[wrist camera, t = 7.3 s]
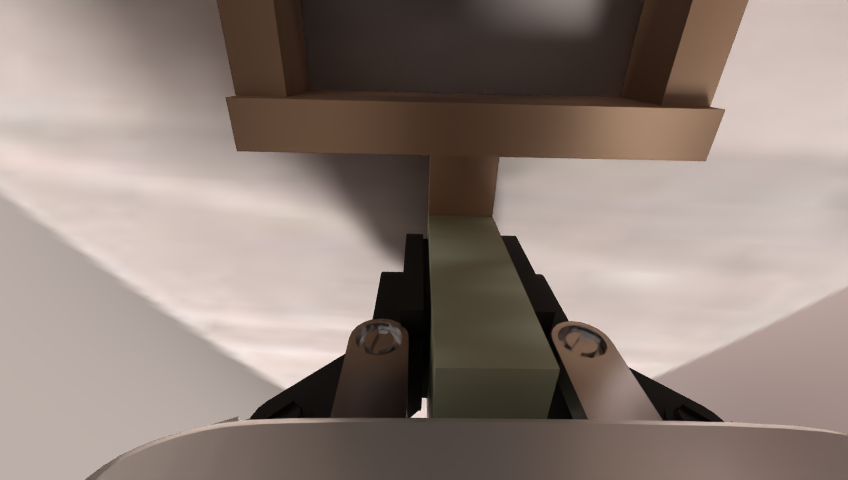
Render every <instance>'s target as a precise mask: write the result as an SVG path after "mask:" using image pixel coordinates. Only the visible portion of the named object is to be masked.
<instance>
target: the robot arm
mask: <svg viewBox="0 0 848 480" xmlns="http://www.w3.org/2000/svg"><path fill="white" fill-rule="evenodd" d="M501 237H502V240H503V242H504V244H505V246H506V249H507V251H508V253H509V255H510V258H511V260H512V262H513V264H514V267H515V269H516V271H517V273H518V276H519V278H520V280H521V282H522V285H523V287H524V289H525V291H526V294H527V296H528V298H529V301H530V303H531V305H532V307H533V310H534V312H535V314H536V316H537V319H538V321H539V323H540V325H541V328H542V330H543V332H544V334H545V337H546V339H547V341H548V343H549V346H550V348H551V350H552V352H553V355H554V357H555V359H556V361H557V364H558V366H559V368H560V371H559V375H558V379H557V382H556V386H555V390H554V394H553V397H552V401H551V405H550V409H549V412H548V416H547V419H486V418H410V417H412V416H413V415H414V414H415V413H416V412H417V411H421V405H422V398H428V379H429V354H430V329H431V292H430V266H429V240H428V239H423V234H407V236H406V248H405V260H404V272H382V273H381V278H380V283H379V288H378V294H377V299H376V304H375V310H374V315H373V319H372V320H369V321H366V322H364V323H362V324H360V325H358V326H357V327H356V328H355V329H354V330H353V331H352V333H351V335H350V337H349V341H348V345H347V349H346V354H344V355H342V356H341V357H339V358H337V359H336V360H334V361H333V362H331V363H329V364H328V365H326V366H324V367H323V368H321V369H319V370H318V371H316V372H314V373H313V374H311V375H309V376H308V377H306V378H304V379H303V380H301V381H300V382H298V383H296V384H295V385H293V386H291V387H290V388H288V389H286V390H285V391H283V392H281V393H280V394H278V395H277V396H275V397H273V398H272V399H270V400H268V401H267V402H266V403H264V404H263V405H262V406H261V407H259V408H258V409H257V410H256V412H255V413H254V414H253V415H252V416H251V418H250V419H246V420H243V421H240V420H239V417H235V418H232V419H229V420H225V421H222V422H219V423H215V424H212V425H209V426H204V427H199V428H195V429H190V430H186V431H183V432H179V433H176V434H173V435H170V436H167V437H163V438H160V439H157V440H154V441H152V442H149V443H147V444H144V445H142V446H139V447H137V448H135V449H133V450H131V451H129V452H126V453H124V454H122V455H120V456H118V457H117V458H115V459H113V460H112V461H110V462H109V463H107V464H105V465H104V466H102V467H101V468H100V469H98V470H97V471H96V472H94V473H93V474H92V475H90V476H89V477H88V478H86V479H85V480H848V434H845V433H840V432H835V431H830V430H824V429H817V428H809V427H801V426H791V425H773V424H772V425H771V424H754V423H736V422H724V421H723V420H722V419H720V418H719V417H718V416H717V415H716V414H714V413H713V412H712V411H710V410H708V409H707V408H705V407H704V406H702V405H700V404H698V403H696V402H694V401H692V400H690V399H689V398H686V397H685V396H683V395H681V394H679V393H677V392H675V391H673V390H671V389H669V388H667V387H665V386H664V385H662V384H660V383H658V382H656V381H654V380H652V379H650V378H648V377H646V376H644V375H642V374H641V373H639V372H637V371H635V370H633V369H631V368H629V367H628V366H627V364H626V363H625V361H624V360H623V358H622V357H621V355H620V354H619V352H618V351H617V349H616V347H615V346H614V344H613V343H612V341H611V340H610V339H609V338H608V337H607V336H606V335H605V334H604V333H603V332H601V331H600V330H599V329H597V328H595V327H593V326H591V325H588V324H584V323H581V322H573V321H568V319H567V317H566V315H565V314H564V312H563V310H562V308H561V306H560V305H559V303H558V301H557V299H556V297H555V296H554V294H553V292H552V290H551V288H550V286H549V285H548V283H547V281H546V279H545V278H544V276H543V275H541V274H535V272H534V270H533V268H532V266H531V264H530V262H529V260H528V258H527V257H526V255H525V253H524V251H523V249H522V247H521V245H520V243H519V241H518V239H517V237H516V236H501Z"/></svg>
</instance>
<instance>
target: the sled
mask: <svg viewBox="0 0 848 480" xmlns="http://www.w3.org/2000/svg"><path fill="white" fill-rule="evenodd" d="M217 3H218V8H219V13H220V18H221V23H222V28H223V33H224V39H225V44H226V49H227V54H228V59H229V64H230V69H231V74H232V79H233V84H234V89H235V94H236V96H231V97H226V102H227V106H228V111H229V116H230V120H231V125H232V130H233V135H234V139H235V144H236V149H237V151H254V152H300V153H347V154H394V155H430V163H429V196H428V229H427V239H428V240H429V266H430V292H431V329H430V354H429V379H428V398H427V418H486V419H547V416H548V412H549V409H550V405H551V401H552V397H553V394H554V390H555V386H556V382H557V379H558V375H559V371H560V368H559V366H558V364H557V361H556V359H555V357H554V355H553V352H552V350H551V348H550V346H549V343H548V341H547V339H546V337H545V334H544V332H543V330H542V328H541V325H540V323H539V321H538V319H537V316H536V314H535V312H534V310H533V307H532V305H531V303H530V301H529V298H528V296H527V294H526V291H525V289H524V287H523V285H522V282H521V280H520V278H519V276H518V273H517V271H516V269H515V267H514V264H513V262H512V260H511V258H510V255H509V253H508V251H507V249H506V246H505V244H504V242H503V240H502V237H501V235H500V233H499V231H498V228H497V226H496V224H495V222H494V219H493V217H492V214H493V206H494V197H495V189H496V181H497V172H498V164H499V157H534V158H580V159H627V160H674V161H706V159H707V156H708V154H709V151H710V149H711V146H712V143H713V141H714V138H715V135H716V133H717V130H718V128H719V125H720V122H721V120H722V117H723V114H724V112H725V109H719V108H714V107H710V105H711V102H712V100H713V97H714V94H715V91H716V88H717V86H718V83H719V80H720V77H721V75H722V72H723V69H724V66H725V64H726V61H727V58H728V55H729V53H730V50H731V47H732V44H733V42H734V39H735V36H736V33H737V31H738V28H739V25H740V22H741V19H742V17H743V14H744V11H745V8H746V6H747V3H748V0H645V1H644V5H643V9H642V13H641V17H640V21H639V25H638V29H637V33H636V37H635V41H634V45H633V49H632V53H631V57H630V60H629V64H628V68H627V72H626V76H625V80H624V84H623V88H622V92H621V96H620V97H583V96H542V95H501V94H459V93H418V92H377V91H335V90H310V86H309V77H308V68H307V59H306V50H305V41H304V32H303V23H302V14H301V5H300V0H217Z"/></svg>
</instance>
